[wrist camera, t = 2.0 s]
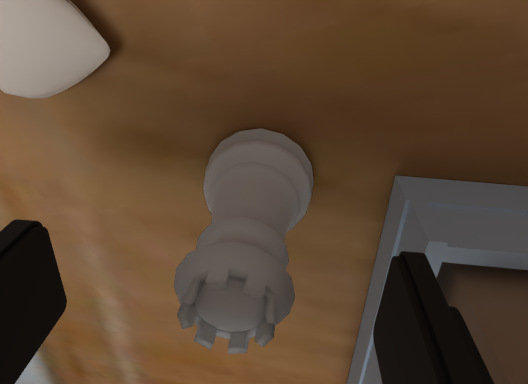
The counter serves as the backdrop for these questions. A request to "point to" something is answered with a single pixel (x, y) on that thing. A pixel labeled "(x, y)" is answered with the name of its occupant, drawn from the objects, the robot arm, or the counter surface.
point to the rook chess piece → (245, 240)
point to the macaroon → (46, 47)
